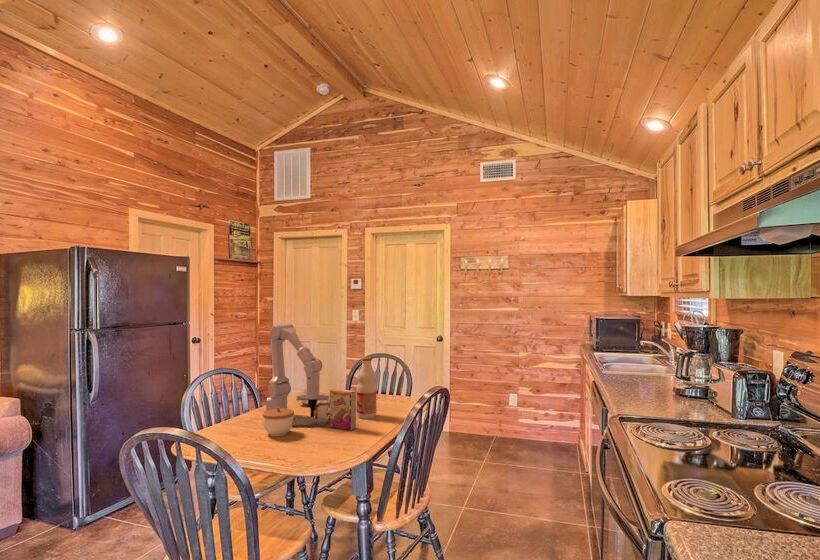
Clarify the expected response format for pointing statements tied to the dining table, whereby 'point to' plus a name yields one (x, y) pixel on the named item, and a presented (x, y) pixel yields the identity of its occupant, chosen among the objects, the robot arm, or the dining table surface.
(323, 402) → the food container
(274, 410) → the lidded bowl
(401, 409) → the dining table surface
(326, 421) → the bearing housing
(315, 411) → the shaft
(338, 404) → the candy bar box
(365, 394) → the fruit juice
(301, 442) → the dining table surface
